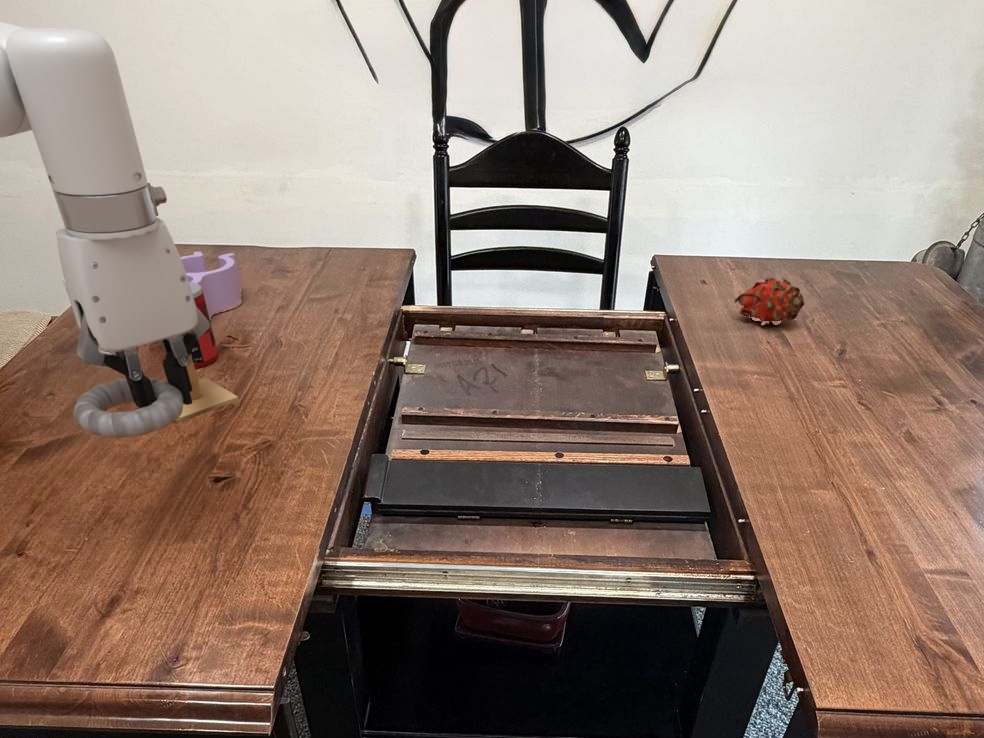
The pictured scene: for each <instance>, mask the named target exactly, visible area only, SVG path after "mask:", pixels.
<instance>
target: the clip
mask: <svg viewBox="0 0 984 738" xmlns="http://www.w3.org/2000/svg"><path fill="white" fill-rule="evenodd" d="M180 258H181V261H182V264H183V266H184V269H185V272H186V275H187V278H188V281H189V282H194V283H197V284H199V285H200V286H201V288H202V290H203V294H204V298H205V302H206V306H207V310H208V314H209V318H211V315H212V314H213V313H214V312H216V311H218V310H222V309H225V308H228V307H230V306H232V305H234V304H236V303H237V302H239V300H240V299H241V296H242V293H241V291H240V287H242V283H241V278H240V274H239V269H238V264H237V260H236V254H235V253H233V252H230V253H226V254H222V255H219V256H217V258H218V262H219V268H216V269H214V270H207V264H206V261H205V258H204V253H202V251H194V252H193V254H189V255H184V256H180ZM242 297H243V296H242Z"/></svg>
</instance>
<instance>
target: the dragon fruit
mask: <svg viewBox="0 0 984 738" xmlns="http://www.w3.org/2000/svg"><path fill="white" fill-rule="evenodd" d="M781 280H782V281H781ZM781 280H776V279H775V278H773V277H767V278H764V281H757V282H755V283H754V285H753V286H752V287H751V288H749V289H747V290H746V291H744V292H742V293H740V294H739V295H738V296H737V297H736V298H735V299H734V304H736V303H737V302H738V304H739V305H740V306H742V308H740V309H739V314H740V315H741V316H742V315H744V316H746V317H749V315H750V318H751V317H755V318H759V319H760V320H761V321H760V323H761V322H763V321H769V322H772V321H780V320H781V321H782V320H783V321H788V322H789V321H790V322H791V321H793V320H795V319H796V318H797V317H798V316H799V313H800V311H801V310H802V308H803V307H804V306H805V305H806V304H805V302H804V300H805V299H804V296H803V294H802V293H801V289H800V288H799V287H798V286H794V285H793V284H792V283H791V281H789V280H788V279H787V278H786V277H782V278H781ZM744 316H743V317H744ZM783 321H782V322H783Z"/></svg>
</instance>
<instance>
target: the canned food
mask: <svg viewBox="0 0 984 738" xmlns="http://www.w3.org/2000/svg"><path fill="white" fill-rule="evenodd" d="M189 284H190V287H191V291H192V294H193V297H194V301H195V305H196V306H197V308H198V309H199V310H200V311H201V313H202V314H203V315H204V316H205V317H206V319H207V320H208V321H209V323H210V328H209V329H208V330H207V331H206V332H205V333H204V334H203V335H202V336H201V337H200V338H199V339H197V342H196V344H195V346H194V348H193V350H192V352H191V356H192V360H193V364H194V367H195V369H199V368H203V367H206V365H207V366H209V365H211V364H213V363H214V362H215V361H216V360H217V359H218V348H217V344H216V339H215V335H214V331H213V327H212V324H211V321H210V318H209V314H208V310H207V306H206V302H205V298H204V294H203V290H202V288H201V286H200V285H199V284H197V283H194V282H189ZM212 362H213V363H212Z"/></svg>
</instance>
